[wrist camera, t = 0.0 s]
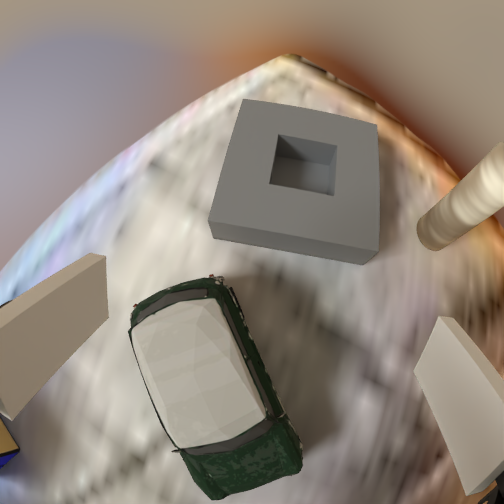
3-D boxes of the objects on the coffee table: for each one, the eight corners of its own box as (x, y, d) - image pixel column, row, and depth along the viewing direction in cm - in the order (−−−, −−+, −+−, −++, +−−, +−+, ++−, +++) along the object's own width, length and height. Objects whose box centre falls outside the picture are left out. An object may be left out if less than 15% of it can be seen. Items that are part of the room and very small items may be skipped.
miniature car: (212, 488, 21) (199, 531, 13) (135, 310, 26) (95, 293, 19) (306, 455, 22) (327, 491, 15) (226, 274, 27) (217, 243, 20)
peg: (447, 253, 28) (535, 194, 14) (417, 246, 28) (503, 178, 15) (445, 219, 29) (523, 152, 16) (416, 212, 29) (490, 134, 16)
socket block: (362, 265, 27) (378, 251, 24) (213, 238, 28) (207, 220, 24) (365, 146, 32) (376, 124, 28) (243, 123, 32) (243, 98, 29)
